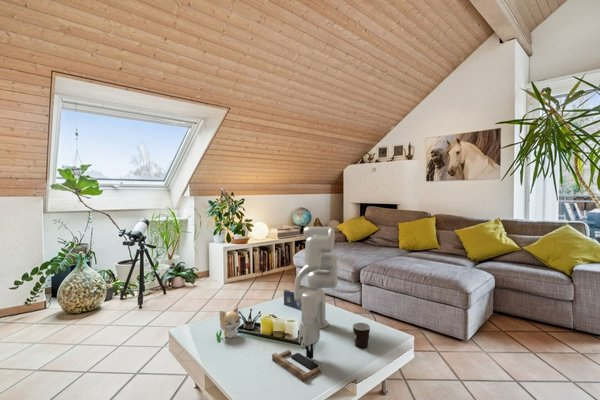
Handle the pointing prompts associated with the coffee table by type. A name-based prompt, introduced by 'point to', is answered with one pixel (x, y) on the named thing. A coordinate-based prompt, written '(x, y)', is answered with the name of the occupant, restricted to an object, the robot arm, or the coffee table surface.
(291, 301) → the vhs cassette tape
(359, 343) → the coffee mug
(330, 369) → the coffee table surface
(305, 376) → the walnut frame
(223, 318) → the kitten
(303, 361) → the remote control
